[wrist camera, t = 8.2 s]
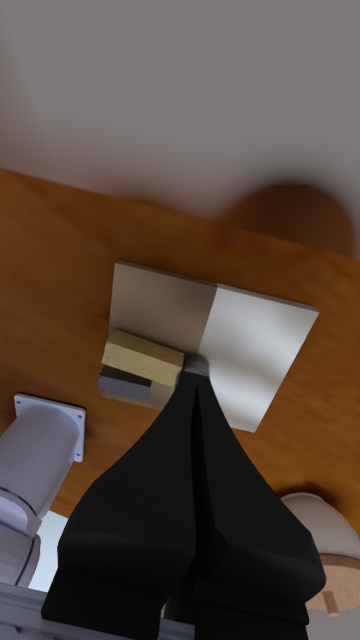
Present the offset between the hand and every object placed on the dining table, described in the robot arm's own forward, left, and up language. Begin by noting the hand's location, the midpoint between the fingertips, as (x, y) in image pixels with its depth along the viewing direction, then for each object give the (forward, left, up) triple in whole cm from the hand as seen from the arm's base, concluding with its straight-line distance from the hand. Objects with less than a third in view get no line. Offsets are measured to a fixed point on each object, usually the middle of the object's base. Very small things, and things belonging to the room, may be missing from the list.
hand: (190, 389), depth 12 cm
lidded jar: (-24, -20, -10) cm, 33 cm away
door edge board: (-5, -1, -10) cm, 11 cm away
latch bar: (-5, +2, -8) cm, 10 cm away
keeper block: (-7, +4, -9) cm, 12 cm away
